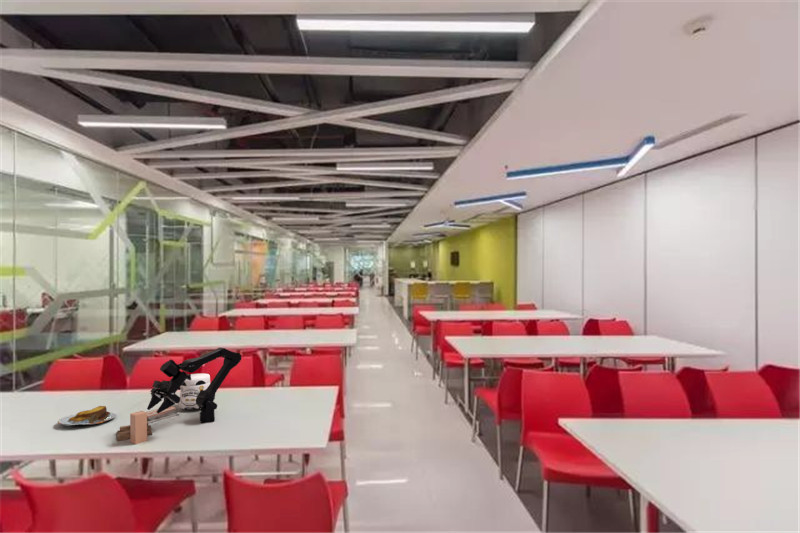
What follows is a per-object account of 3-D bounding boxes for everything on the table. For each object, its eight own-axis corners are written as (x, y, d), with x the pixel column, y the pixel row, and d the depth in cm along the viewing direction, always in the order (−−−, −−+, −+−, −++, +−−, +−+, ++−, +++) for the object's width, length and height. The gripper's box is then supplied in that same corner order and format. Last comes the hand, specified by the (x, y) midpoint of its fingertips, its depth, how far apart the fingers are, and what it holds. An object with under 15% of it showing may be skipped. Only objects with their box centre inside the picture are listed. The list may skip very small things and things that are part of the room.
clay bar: (142, 438, 207) (141, 410, 207) (147, 440, 204) (146, 412, 204) (130, 442, 203) (130, 413, 203) (135, 444, 200) (135, 415, 200)
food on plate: (61, 420, 237) (61, 407, 237) (116, 412, 250) (116, 400, 250) (55, 434, 215) (55, 420, 215) (116, 424, 228) (116, 411, 229)
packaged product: (169, 404, 247) (179, 406, 242) (169, 412, 247) (179, 415, 242) (135, 412, 232) (144, 416, 227) (135, 422, 232) (144, 425, 227)
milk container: (183, 414, 242) (183, 381, 242) (174, 407, 255) (174, 376, 255) (216, 408, 253) (216, 376, 253) (206, 401, 266) (206, 371, 266)
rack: (150, 427, 223) (150, 421, 223) (152, 434, 212) (151, 428, 212) (117, 432, 215) (117, 426, 215) (117, 441, 204) (117, 434, 204)
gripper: (154, 370, 219) (130, 398, 210) (173, 375, 208) (149, 405, 199) (170, 383, 225) (147, 411, 216) (190, 388, 214) (167, 418, 205)
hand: (152, 411), depth 209 cm, fingers open, 9 cm apart
